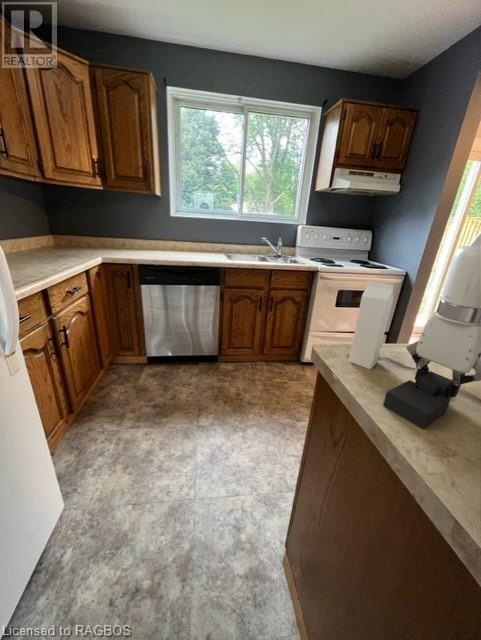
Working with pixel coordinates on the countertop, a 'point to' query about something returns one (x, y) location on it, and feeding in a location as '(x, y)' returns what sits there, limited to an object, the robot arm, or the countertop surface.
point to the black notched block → (415, 404)
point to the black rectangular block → (433, 384)
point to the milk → (371, 324)
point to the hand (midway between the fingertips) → (433, 390)
